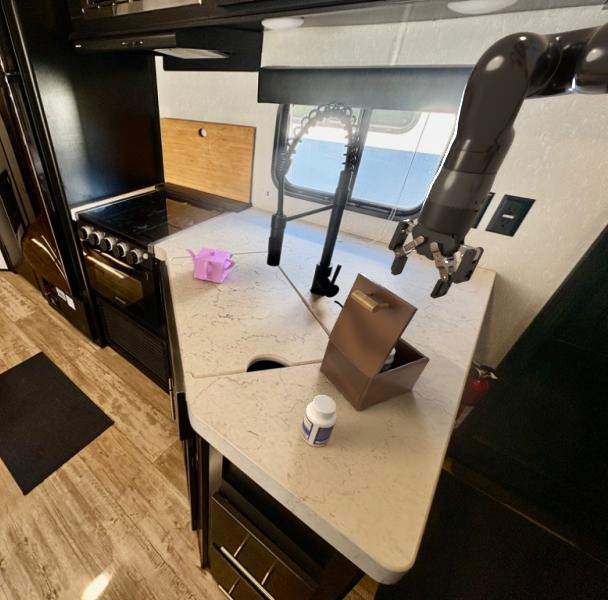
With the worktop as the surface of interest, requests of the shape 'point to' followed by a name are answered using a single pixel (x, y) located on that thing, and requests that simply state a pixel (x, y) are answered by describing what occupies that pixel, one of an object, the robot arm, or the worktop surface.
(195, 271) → the teapot
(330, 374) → the chest
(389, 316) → the lid
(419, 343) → the worktop surface
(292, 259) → the worktop surface
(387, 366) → the pill bottle
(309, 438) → the pill bottle
